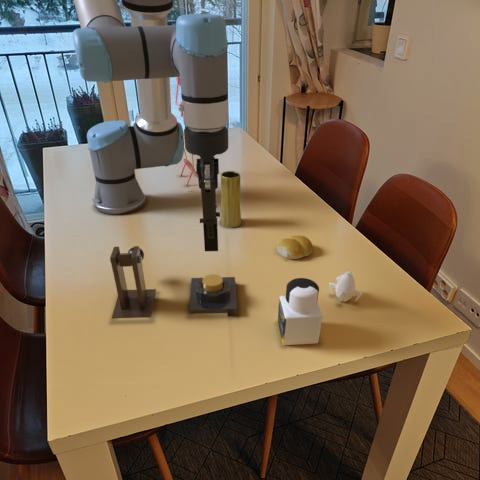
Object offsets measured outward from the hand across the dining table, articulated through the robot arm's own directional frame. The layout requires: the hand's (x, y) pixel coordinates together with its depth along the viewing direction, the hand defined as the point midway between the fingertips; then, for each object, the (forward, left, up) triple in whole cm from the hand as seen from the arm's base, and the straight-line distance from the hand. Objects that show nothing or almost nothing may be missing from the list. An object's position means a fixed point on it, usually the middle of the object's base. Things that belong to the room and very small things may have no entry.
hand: (211, 249), depth 88 cm
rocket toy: (+1, +29, -13) cm, 32 cm away
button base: (0, 0, -13) cm, 13 cm away
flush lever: (-2, -17, -5) cm, 18 cm away
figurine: (-71, -4, -13) cm, 73 cm away
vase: (-37, +5, -13) cm, 40 cm away
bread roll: (-20, +21, -13) cm, 32 cm away
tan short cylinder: (0, 0, -9) cm, 9 cm away
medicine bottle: (+12, +17, -13) cm, 24 cm away
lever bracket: (+2, -17, -13) cm, 21 cm away
